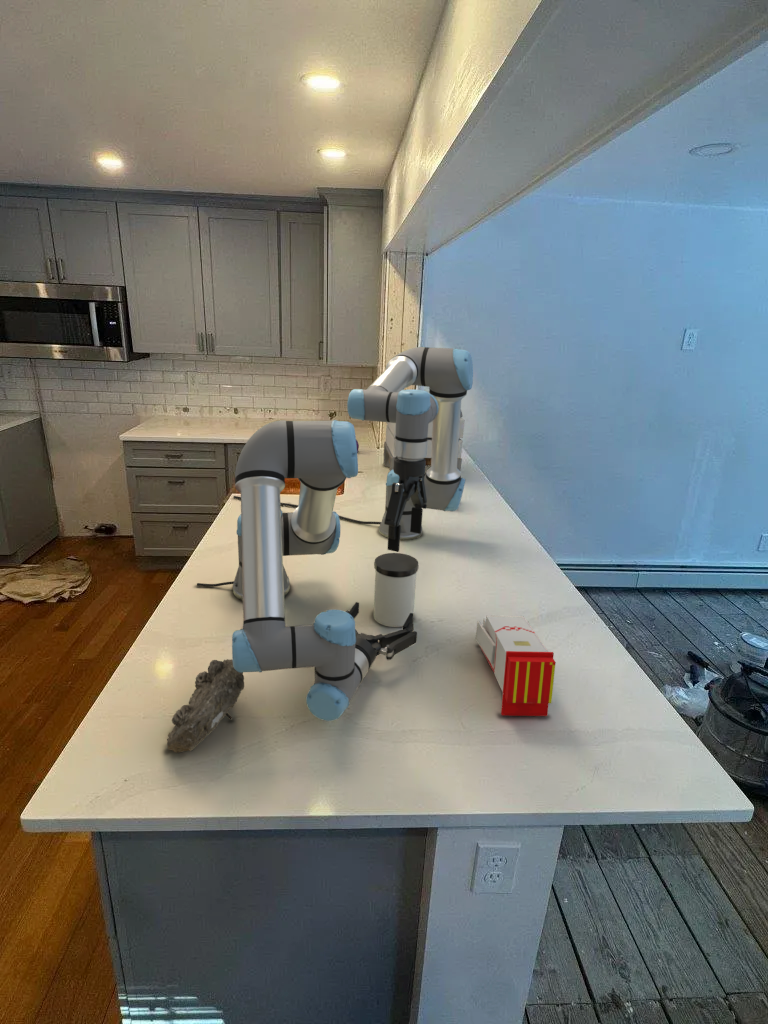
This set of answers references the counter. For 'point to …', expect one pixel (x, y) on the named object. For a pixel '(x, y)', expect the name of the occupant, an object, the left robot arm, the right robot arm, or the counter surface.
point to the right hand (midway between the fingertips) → (404, 541)
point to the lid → (396, 565)
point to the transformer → (390, 447)
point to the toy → (518, 664)
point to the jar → (393, 599)
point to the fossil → (206, 705)
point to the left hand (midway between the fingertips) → (384, 612)
